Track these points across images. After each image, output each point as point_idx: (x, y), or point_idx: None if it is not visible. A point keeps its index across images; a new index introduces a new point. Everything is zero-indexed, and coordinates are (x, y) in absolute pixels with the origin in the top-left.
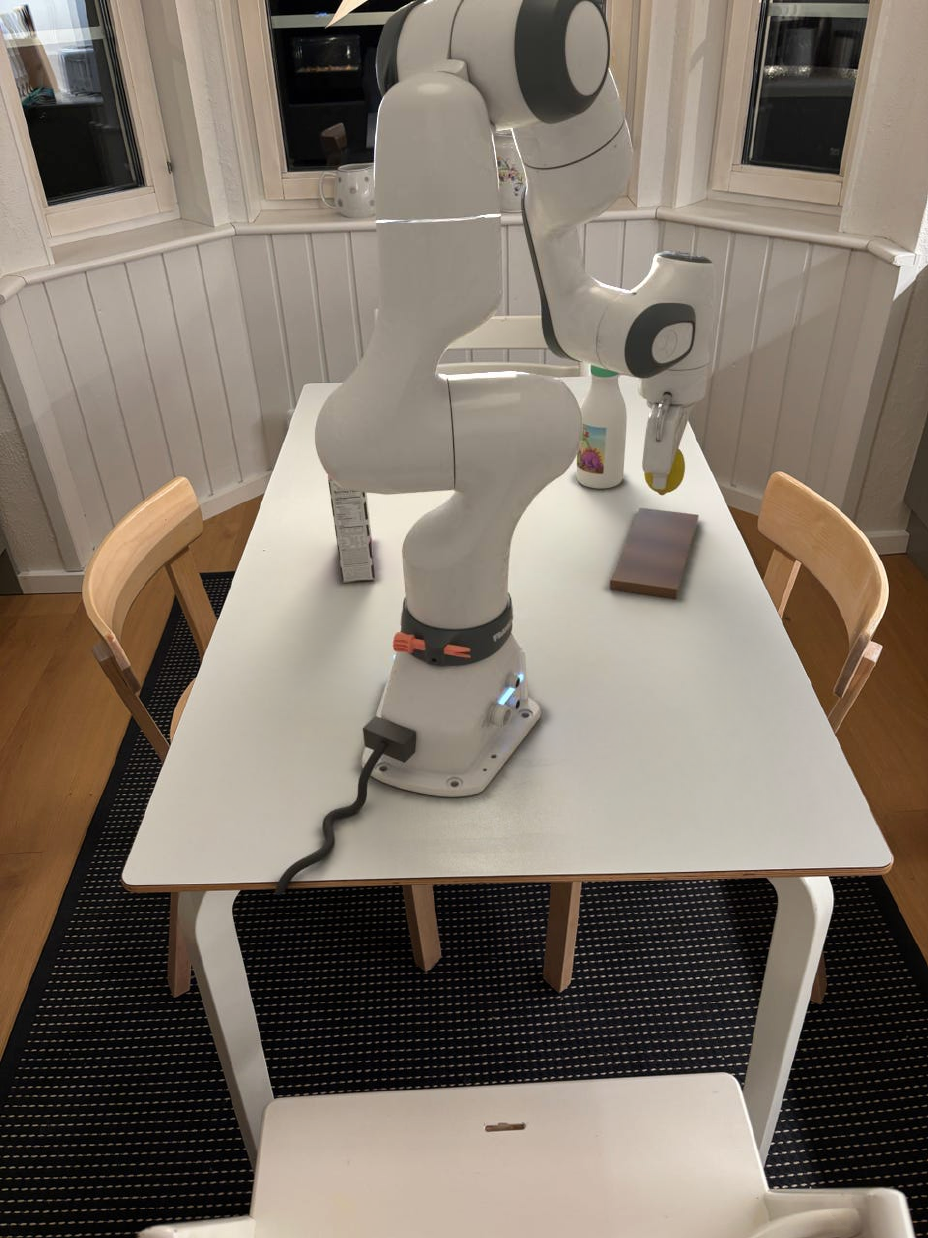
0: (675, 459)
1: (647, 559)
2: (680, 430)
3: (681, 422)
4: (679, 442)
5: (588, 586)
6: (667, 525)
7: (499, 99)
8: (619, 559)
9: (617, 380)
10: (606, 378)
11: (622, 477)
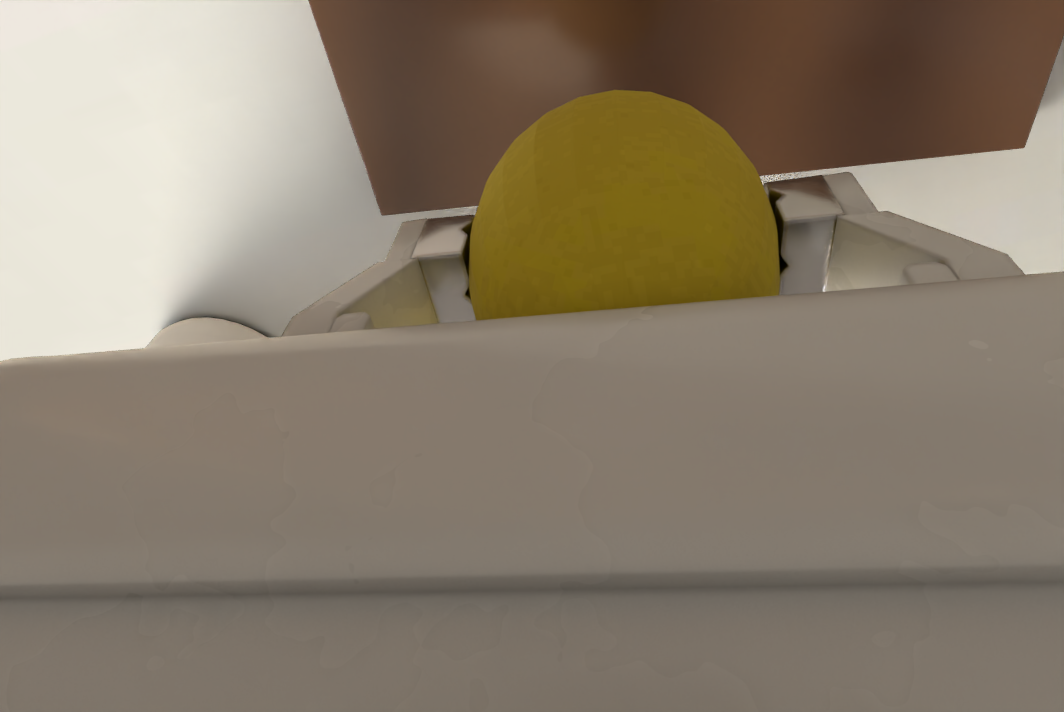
0: (730, 245)
1: (821, 51)
2: (762, 463)
3: (729, 558)
4: (728, 340)
5: (978, 206)
6: (472, 60)
7: None
8: (840, 164)
9: None
10: None
11: (189, 324)
